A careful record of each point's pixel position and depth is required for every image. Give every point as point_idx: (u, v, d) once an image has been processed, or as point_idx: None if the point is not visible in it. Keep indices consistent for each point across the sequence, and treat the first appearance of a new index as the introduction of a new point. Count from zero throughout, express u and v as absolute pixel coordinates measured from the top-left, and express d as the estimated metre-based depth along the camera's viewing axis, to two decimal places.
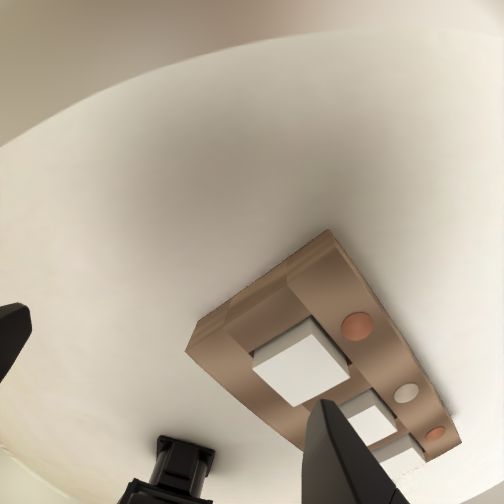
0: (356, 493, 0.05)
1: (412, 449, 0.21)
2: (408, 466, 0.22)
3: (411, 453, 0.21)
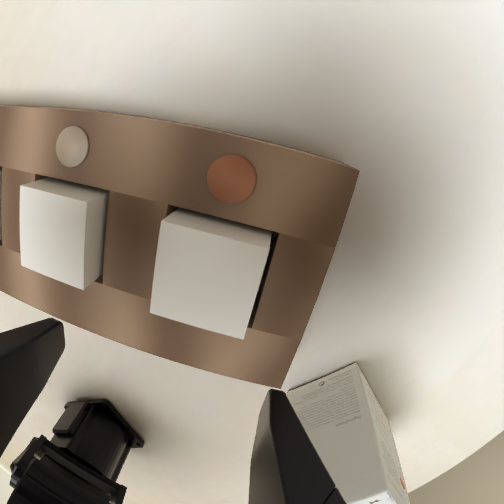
0: (286, 488, 0.05)
1: (169, 225, 0.13)
2: (231, 276, 0.13)
3: (182, 236, 0.13)
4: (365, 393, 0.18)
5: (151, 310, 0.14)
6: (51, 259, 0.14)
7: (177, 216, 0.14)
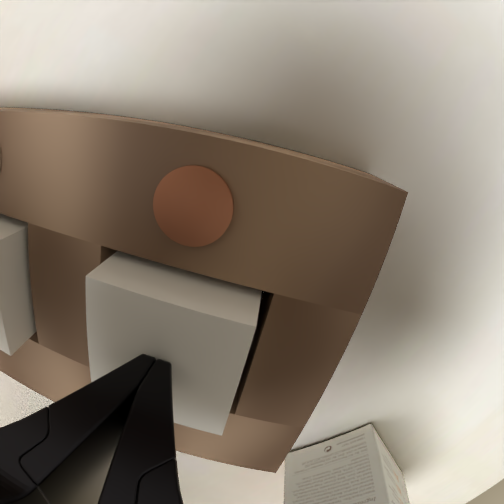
0: (120, 446, 0.05)
1: (97, 283, 0.07)
2: (198, 362, 0.08)
3: (118, 301, 0.08)
4: (382, 467, 0.12)
5: None
6: None
7: (115, 264, 0.08)
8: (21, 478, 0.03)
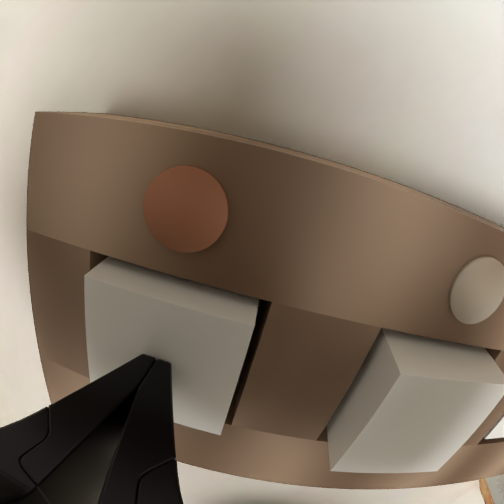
0: (120, 446, 0.05)
1: None
2: None
3: None
4: None
5: (487, 436, 0.10)
6: (408, 456, 0.08)
7: None
8: (21, 479, 0.03)
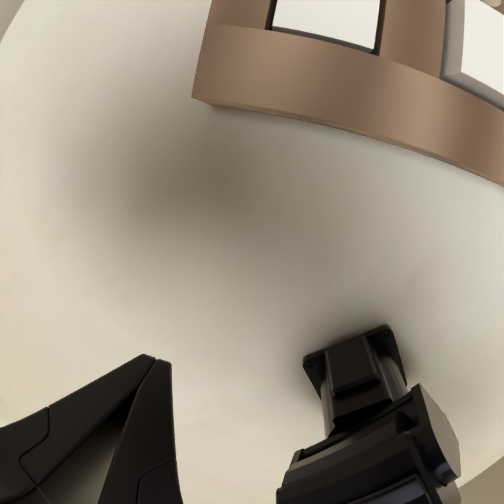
0: (120, 446, 0.05)
1: None
2: None
3: None
4: None
5: None
6: (502, 72, 0.09)
7: None
8: (21, 478, 0.03)
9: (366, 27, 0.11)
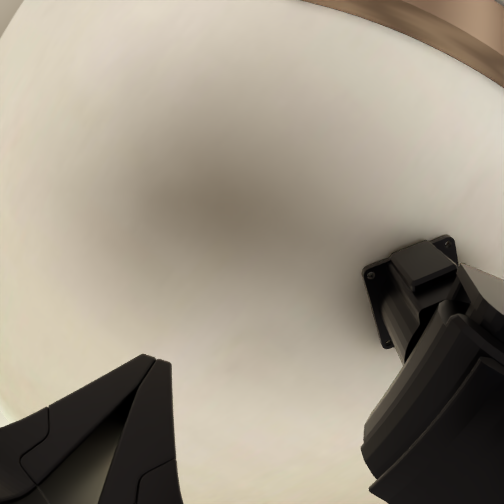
0: (120, 446, 0.05)
1: None
2: None
3: None
4: None
5: None
6: None
7: None
8: (21, 479, 0.03)
9: None
